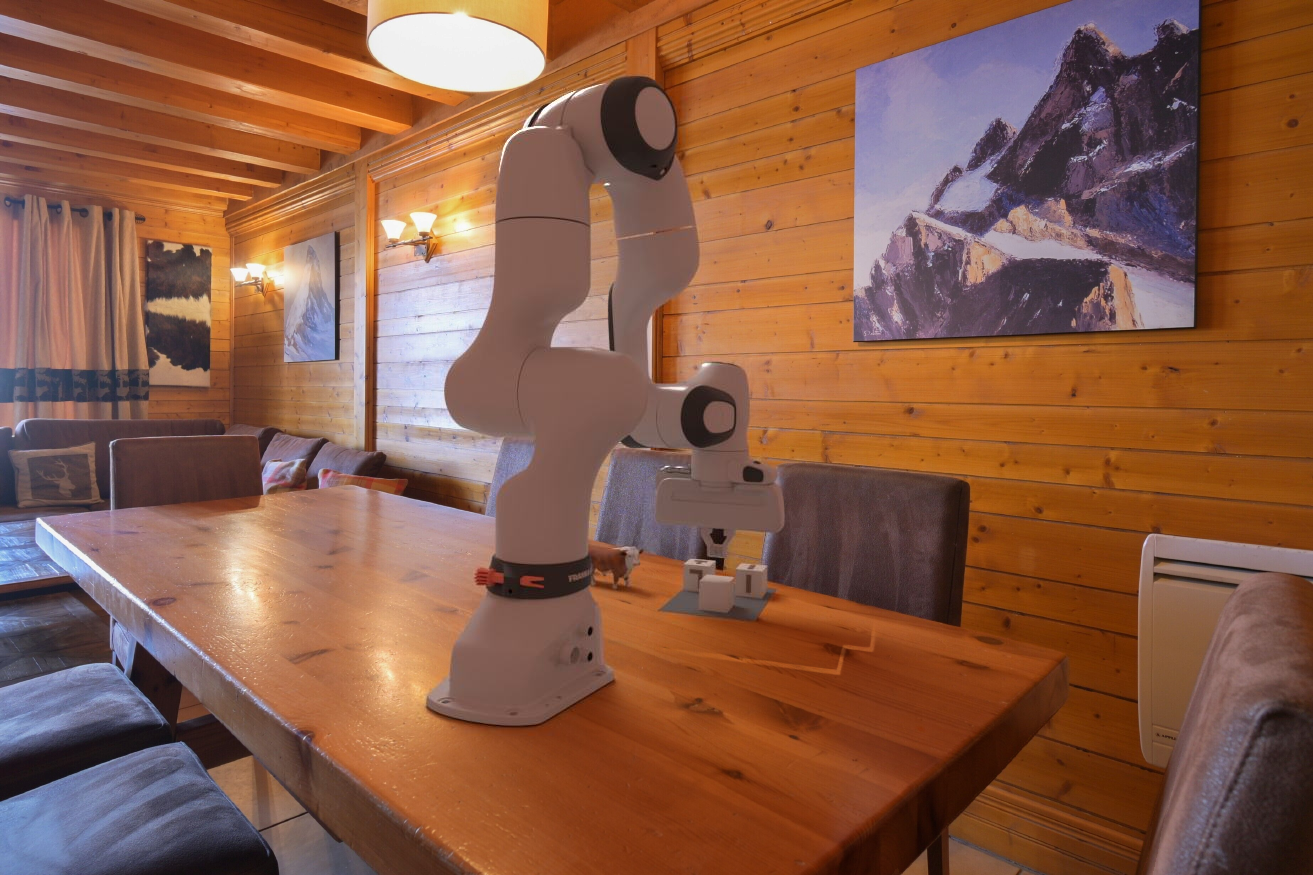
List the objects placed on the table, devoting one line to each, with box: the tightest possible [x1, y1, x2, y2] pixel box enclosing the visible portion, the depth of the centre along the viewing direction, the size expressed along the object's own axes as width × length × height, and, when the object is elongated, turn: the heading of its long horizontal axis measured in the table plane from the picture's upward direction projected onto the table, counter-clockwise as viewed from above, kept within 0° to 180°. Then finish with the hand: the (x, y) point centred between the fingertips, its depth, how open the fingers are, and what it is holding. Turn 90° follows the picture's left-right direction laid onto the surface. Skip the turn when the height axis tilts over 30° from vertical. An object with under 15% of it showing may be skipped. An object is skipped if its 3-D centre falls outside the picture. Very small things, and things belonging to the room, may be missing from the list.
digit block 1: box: [734, 562, 768, 599], centre depth 124 cm, size 5×4×5 cm
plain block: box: [699, 574, 735, 613], centre depth 115 cm, size 4×4×4 cm
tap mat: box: [657, 583, 777, 623], centre depth 120 cm, size 20×15×1 cm
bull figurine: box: [588, 543, 644, 590], centre depth 127 cm, size 4×13×8 cm, turn 53°
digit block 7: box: [682, 558, 717, 592], centre depth 126 cm, size 5×4×5 cm
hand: (717, 556), depth 115 cm, fingers closed
